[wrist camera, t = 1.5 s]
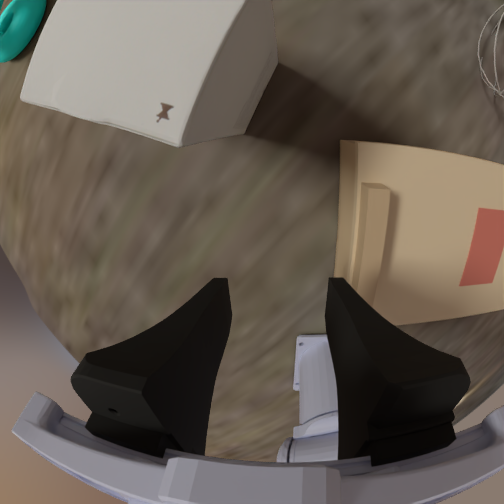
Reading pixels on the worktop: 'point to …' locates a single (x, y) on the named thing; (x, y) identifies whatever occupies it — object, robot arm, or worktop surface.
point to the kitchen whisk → (494, 56)
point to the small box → (156, 65)
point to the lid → (426, 233)
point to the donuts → (19, 26)
